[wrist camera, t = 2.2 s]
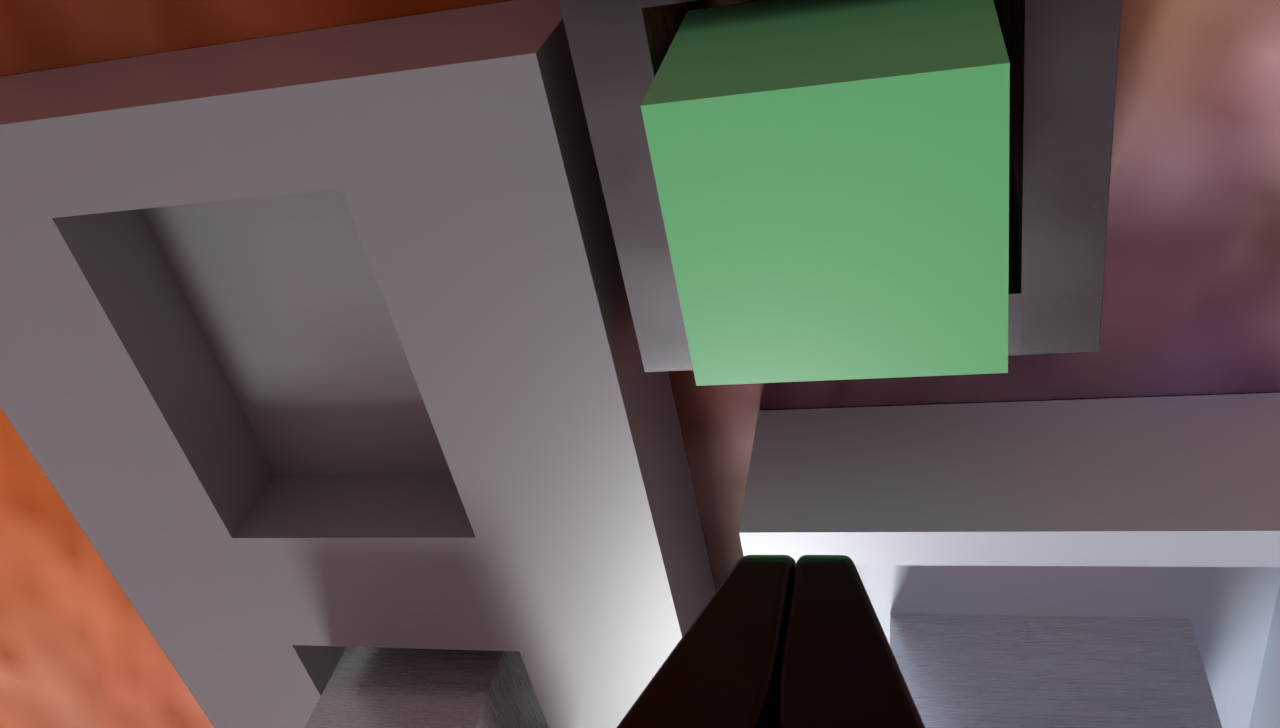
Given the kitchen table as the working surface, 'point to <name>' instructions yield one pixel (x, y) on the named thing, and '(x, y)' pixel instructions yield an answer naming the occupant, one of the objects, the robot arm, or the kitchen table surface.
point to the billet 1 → (428, 690)
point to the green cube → (836, 188)
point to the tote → (1046, 515)
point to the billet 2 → (1053, 671)
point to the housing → (1038, 164)
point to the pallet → (347, 360)
